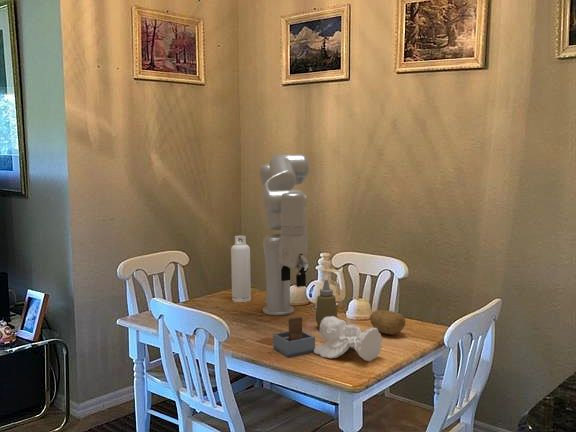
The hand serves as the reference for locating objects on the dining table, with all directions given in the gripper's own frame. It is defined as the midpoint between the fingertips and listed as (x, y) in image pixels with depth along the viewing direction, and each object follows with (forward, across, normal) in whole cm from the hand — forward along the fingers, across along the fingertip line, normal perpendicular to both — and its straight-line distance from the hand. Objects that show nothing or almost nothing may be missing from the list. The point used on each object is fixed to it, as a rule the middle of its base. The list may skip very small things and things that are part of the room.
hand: (293, 283), depth 195 cm
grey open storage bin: (+22, 0, 0) cm, 22 cm away
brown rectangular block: (+21, +1, 0) cm, 21 cm away
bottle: (+23, -67, +13) cm, 72 cm away
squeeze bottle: (+23, -14, +22) cm, 34 cm away
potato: (+23, +2, +37) cm, 43 cm away
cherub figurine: (+23, +13, +11) cm, 29 cm away
